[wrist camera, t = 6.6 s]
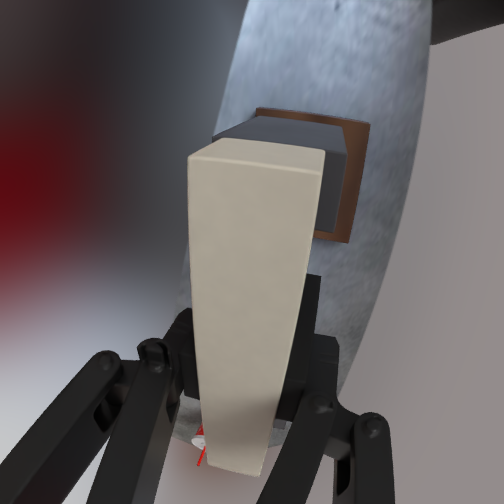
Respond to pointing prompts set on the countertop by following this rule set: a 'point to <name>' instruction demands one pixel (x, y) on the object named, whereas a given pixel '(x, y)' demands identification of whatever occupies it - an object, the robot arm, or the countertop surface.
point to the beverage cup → (199, 441)
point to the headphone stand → (356, 150)
